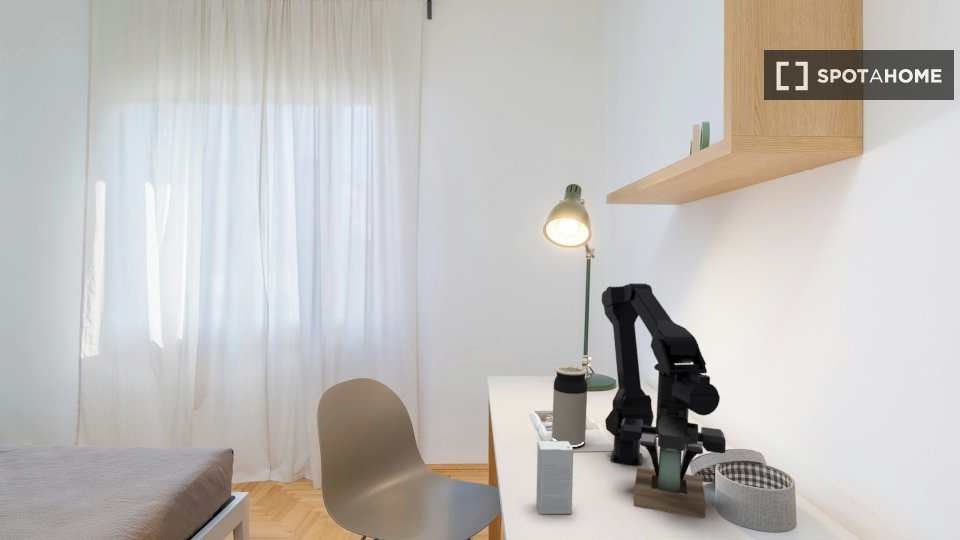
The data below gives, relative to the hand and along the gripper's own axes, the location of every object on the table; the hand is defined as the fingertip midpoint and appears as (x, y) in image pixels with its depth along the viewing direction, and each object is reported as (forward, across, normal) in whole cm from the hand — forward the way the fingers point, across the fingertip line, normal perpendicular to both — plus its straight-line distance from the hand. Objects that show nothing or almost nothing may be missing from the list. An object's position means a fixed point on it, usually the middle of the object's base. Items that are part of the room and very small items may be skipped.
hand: (669, 477), depth 106 cm
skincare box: (+4, -20, -13) cm, 24 cm away
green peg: (+2, 0, 0) cm, 3 cm away
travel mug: (+4, -23, +21) cm, 31 cm away
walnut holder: (+4, 0, 0) cm, 4 cm away
